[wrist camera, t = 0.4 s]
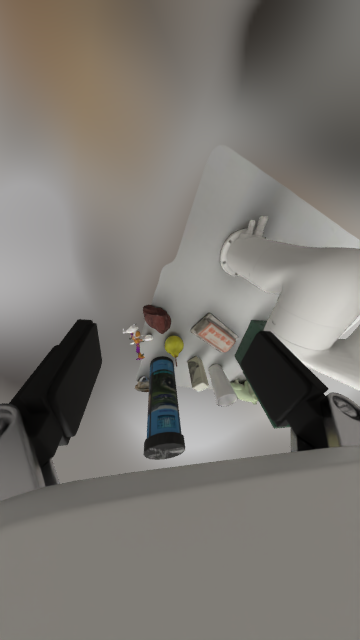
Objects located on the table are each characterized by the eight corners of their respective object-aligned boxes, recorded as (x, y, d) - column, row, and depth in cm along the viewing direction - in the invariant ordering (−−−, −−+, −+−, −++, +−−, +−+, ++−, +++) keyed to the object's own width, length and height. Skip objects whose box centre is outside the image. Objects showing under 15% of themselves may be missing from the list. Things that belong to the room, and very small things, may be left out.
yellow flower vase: (165, 331, 57) (167, 355, 47) (183, 331, 58) (188, 355, 48) (163, 345, 60) (164, 370, 51) (180, 345, 62) (185, 370, 52)
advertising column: (154, 375, 70) (153, 462, 45) (144, 360, 64) (136, 451, 39) (178, 368, 69) (189, 452, 45) (170, 352, 63) (178, 439, 38)
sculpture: (154, 384, 73) (155, 373, 72) (151, 396, 66) (151, 383, 64) (137, 383, 73) (137, 371, 72) (132, 395, 66) (132, 382, 64)
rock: (148, 299, 52) (139, 319, 55) (142, 304, 46) (133, 326, 49) (176, 313, 53) (167, 332, 56) (175, 320, 47) (164, 340, 50)
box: (196, 355, 66) (203, 381, 55) (201, 360, 68) (210, 386, 58) (186, 361, 67) (192, 388, 57) (192, 366, 70) (198, 393, 59)
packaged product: (191, 338, 54) (213, 319, 50) (189, 329, 58) (208, 311, 54) (223, 358, 62) (243, 343, 59) (219, 350, 66) (237, 335, 63)
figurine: (252, 389, 87) (261, 407, 79) (224, 390, 84) (231, 409, 76) (259, 378, 81) (270, 396, 73) (230, 379, 79) (238, 398, 71)
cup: (208, 376, 75) (219, 408, 63) (203, 366, 71) (213, 399, 58) (225, 370, 74) (239, 402, 62) (221, 359, 70) (235, 391, 57)
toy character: (136, 361, 57) (130, 330, 60) (158, 355, 56) (151, 324, 59) (121, 362, 47) (115, 325, 50) (147, 354, 46) (139, 317, 49)
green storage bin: (251, 320, 59) (263, 332, 53) (286, 322, 62) (301, 334, 55) (234, 356, 69) (242, 370, 63) (265, 356, 72) (275, 370, 66)
